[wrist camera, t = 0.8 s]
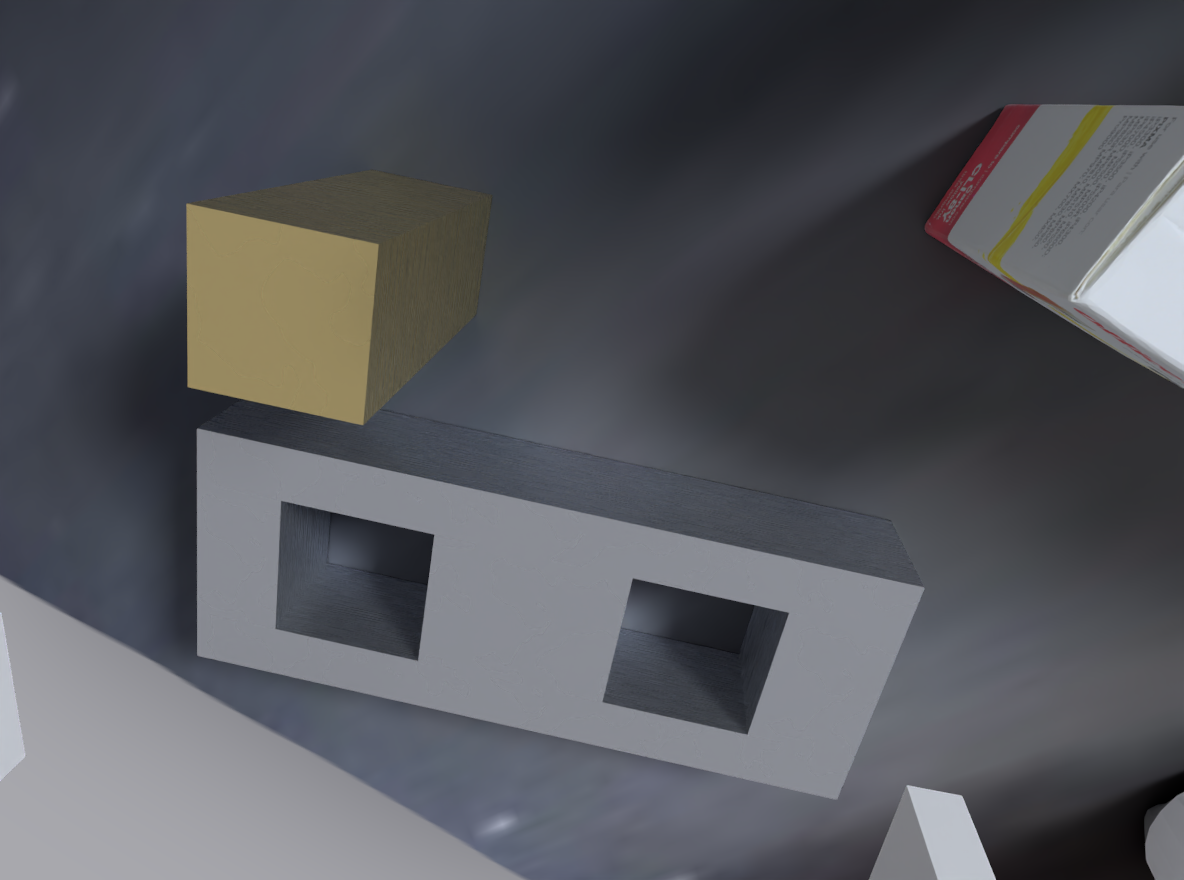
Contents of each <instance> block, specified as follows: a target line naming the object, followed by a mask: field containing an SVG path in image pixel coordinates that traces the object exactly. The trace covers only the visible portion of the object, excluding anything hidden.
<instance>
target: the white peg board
mask: <svg viewBox="0 0 1184 880" xmlns="http://www.w3.org/2000/svg"><path fill="white" fill-rule="evenodd" d="M331 512H334V513H339V514H343V515H348V516H352V517H357V518H361V519H366V520H370V521H375V522H379V523H384V524H389V525H393V526H398V527H402V528H407V529H411V530H416V531H420V532H425V533H429V534H434V542H433V550H432V557H431V565H430V573H429V580H428V585H424V584H420V583H415V582H411V581H406V580H401V579H397V578H392V577H388V576H383V575H379V574H374V573H370V572H365V571H361V570H356V569H352V568H347V567H343V566H338V565H334V564H329V563H327V561H328V547H329V533H330V519H331ZM633 578H634V579H638V580H643V581H647V582H652V583H656V584H661V585H665V586H670V587H674V588H679V589H684V590H688V591H693V592H697V593H702V594H706V595H711V596H715V597H720V598H724V599H729V600H733V601H738V602H743V603H747V604H752V605H755V606H754V609H753V612H752V615H751V618H750V621H749V625H748V628H747V631H746V634H745V637H744V640H743V643H742V646H741V649H740V653H739V654H735V653H731V652H726V651H722V650H717V649H713V648H708V647H704V646H699V645H695V644H690V643H685V642H681V641H676V640H672V639H667V638H663V637H658V636H654V635H649V634H645V633H640V632H636V631H631V630H627V629H622V628H621V624H622V620H623V616H624V612H625V608H626V604H627V600H628V596H629V592H630V588H631V584H632V579H633ZM924 589H925V587H924V585H923V583H922V581H921V579H920V577H919V575H918V573H917V571H916V569H915V567H914V565H913V563H912V562H911V560H910V558H909V556H908V554H907V552H906V550H905V548H904V546H903V544H902V542H901V540H900V538H899V536H898V534H897V532H896V530H895V528H894V526H893V524H892V523H891V521H890V520H886V519H882V518H877V517H873V516H868V515H863V514H859V513H854V512H850V511H845V510H840V509H836V508H831V507H827V506H822V505H817V504H813V503H808V502H803V501H799V500H794V499H790V498H785V497H780V496H776V495H771V494H767V493H762V492H757V491H753V490H748V489H744V488H739V487H734V486H730V485H725V484H721V483H716V482H711V481H707V480H702V479H698V478H693V477H688V476H684V475H679V474H675V473H670V472H665V471H661V470H656V469H652V468H647V467H642V466H638V465H633V464H628V463H624V462H619V461H615V460H610V459H605V458H601V457H596V456H592V455H587V454H582V453H578V452H573V451H569V450H564V449H559V448H555V447H550V446H546V445H541V444H536V443H532V442H527V441H523V440H518V439H513V438H509V437H504V436H500V435H495V434H490V433H486V432H481V431H476V430H472V429H467V428H463V427H458V426H453V425H449V424H444V423H440V422H435V421H430V420H426V419H421V418H417V417H412V416H407V415H403V414H398V413H394V412H389V411H384V410H380V409H379V410H378V411H377V412H376V413H375V414H374V415H373V416H372V417H371V418H370V419H369V420H368V421H367V422H366V423H365V424H364V425H359V424H355V423H350V422H346V421H341V420H336V419H332V418H327V417H323V416H318V415H313V414H309V413H304V412H300V411H295V410H290V409H286V408H281V407H277V406H272V405H267V404H263V403H258V402H254V401H249V400H244V399H241V400H240V401H238V402H237V403H235V404H234V405H232V406H230V407H229V408H227V409H226V410H224V411H223V412H221V413H220V414H218V415H217V416H215V417H214V418H212V419H211V420H209V421H207V422H206V423H204V424H203V425H201V426H200V427H198V428H197V656H201V657H205V658H210V659H214V660H219V661H223V662H228V663H232V664H236V665H241V666H245V667H250V668H254V669H259V670H263V671H268V672H272V673H276V674H281V675H285V676H290V677H294V678H299V679H303V680H307V681H312V682H316V683H321V684H325V685H330V686H334V687H339V688H343V689H347V690H352V691H356V692H361V693H365V694H370V695H374V696H378V697H383V698H387V699H392V700H396V701H401V702H405V703H410V704H414V705H418V706H423V707H427V708H432V709H436V710H441V711H445V712H449V713H454V714H458V715H463V716H467V717H472V718H476V719H481V720H485V721H489V722H494V723H498V724H503V725H507V726H512V727H516V728H520V729H525V730H529V731H534V732H538V733H543V734H547V735H552V736H556V737H560V738H565V739H569V740H574V741H578V742H583V743H587V744H592V745H596V746H600V747H605V748H609V749H614V750H618V751H623V752H627V753H631V754H636V755H640V756H645V757H649V758H654V759H658V760H663V761H667V762H671V763H676V764H680V765H685V766H689V767H694V768H698V769H702V770H707V771H711V772H716V773H720V774H725V775H729V776H734V777H738V778H742V779H747V780H751V781H756V782H760V783H765V784H769V785H773V786H778V787H782V788H787V789H791V790H796V791H800V792H805V793H809V794H813V795H818V796H822V797H827V798H831V799H836V800H837V798H838V796H839V794H840V791H841V789H842V786H843V784H844V781H845V779H846V777H847V774H848V772H849V769H850V767H851V765H852V762H853V760H854V757H855V755H856V753H857V750H858V748H859V745H860V743H861V740H862V738H863V736H864V733H865V731H866V728H867V726H868V724H869V721H870V719H871V716H872V714H873V712H874V709H875V707H876V704H877V702H878V700H879V697H880V695H881V692H882V690H883V687H884V685H885V683H886V680H887V678H888V675H889V673H890V671H891V668H892V666H893V663H894V661H895V659H896V656H897V654H898V651H899V649H900V646H901V644H902V642H903V639H904V637H905V634H906V632H907V630H908V627H909V625H910V622H911V620H912V618H913V615H914V613H915V610H916V608H917V605H918V603H919V601H920V598H921V596H922V593H923V591H924Z"/></svg>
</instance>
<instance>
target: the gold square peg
mask: <svg viewBox="0 0 1184 880" xmlns="http://www.w3.org/2000/svg"><path fill="white" fill-rule="evenodd" d="M491 202H492V195H490V194H485V193H480V192H475V191H471V190H466V189H461V188H456V187H452V186H447V185H442V184H437V183H433V182H428V181H423V180H418V179H414V178H409V177H404V176H399V175H395V174H390V173H385V172H380V171H376V170H368V171H363V172H357V173H352V174H346V175H341V176H335V177H330V178H324V179H319V180H313V181H308V182H302V183H297V184H291V185H286V186H280V187H275V188H269V189H264V190H258V191H253V192H247V193H242V194H236V195H231V196H225V197H220V198H214V199H209V200H203V201H198V202H192V203H187V353H188V387H189V388H194V389H198V390H203V391H208V392H212V393H217V394H221V395H226V396H231V397H235V398H240V399H244V400H249V401H254V402H258V403H263V404H267V405H272V406H277V407H281V408H286V409H290V410H295V411H300V412H304V413H309V414H313V415H318V416H323V417H327V418H332V419H336V420H341V421H346V422H350V423H355V424H359V425H364V424H365V423H366V422H367V421H368V420H369V419H370V418H371V417H372V416H373V415H374V414H375V413H376V412H377V411H378V410H379V409H380V408H381V407H382V406H383V405H384V404H385V403H386V402H387V401H388V400H389V399H390V398H391V397H392V396H394V395H395V394H396V393H397V392H398V391H399V390H400V389H401V388H402V387H403V386H404V385H405V384H406V383H407V382H408V381H409V380H410V379H411V378H412V377H413V376H414V375H415V374H416V373H417V372H418V371H419V370H420V369H421V368H422V367H423V366H424V365H425V364H426V363H427V362H428V361H429V360H430V359H431V358H432V357H433V356H434V355H435V354H436V353H437V352H438V351H439V350H440V349H441V348H442V347H443V346H444V345H445V344H447V343H448V342H449V341H450V340H451V339H452V338H453V337H454V336H455V335H456V334H457V333H458V332H459V331H460V330H461V329H462V328H463V327H464V326H465V325H466V324H467V323H468V322H469V321H470V320H471V319H472V318H473V317H474V316H475V315H476V312H477V304H478V297H479V290H480V283H481V275H482V268H483V261H484V253H485V246H486V239H487V231H488V224H489V217H490V209H491Z"/></svg>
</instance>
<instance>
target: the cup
mask: <svg viewBox="0 0 1184 880" xmlns="http://www.w3.org/2000/svg"><path fill="white" fill-rule="evenodd" d="M1144 832H1145V852H1146V862H1147V864H1148V866H1149V868H1150V870H1151V872H1152V874H1153V876H1154V878H1155V880H1184V791H1183V792H1182V793H1181V794H1179V795H1177V796H1176V797H1175V798H1174V799H1172V800H1170V801H1169V802H1167V803H1165V804H1158V805H1156V806H1154V807H1152V808H1150V809H1148V810H1147V812H1146V815H1145V817H1144Z"/></svg>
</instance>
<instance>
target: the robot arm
mask: <svg viewBox="0 0 1184 880" xmlns="http://www.w3.org/2000/svg"><path fill="white" fill-rule="evenodd" d="M25 756H26V755H25V749H24V743H23V737H22V731H21V725H20V720H19V713H18V707H17V702H16V696H15V690H14V684H13V678H12V672H11V666H10V660H9V654H8V648H7V642H6V636H5V630H4V624H3V618H2V612H0V781H1V780H2V779H3V778H4V777H5V776H6V775H7V774H8V773H9V772H10V771H11V770H12V769H13V768H14V767H15V766H16V765H17V764H18V763H19V762H20V761H21V760H22V759H24V757H25ZM869 880H996V878H995V876H994V873H993V871H992V868H991V866H990V864H989V861H988V859H987V856H986V854H985V851H984V849H983V846H982V844H981V841H980V839H979V836H978V834H977V831H976V829H975V826H974V824H973V822H972V819H971V817H970V814H969V812H968V809H967V807H966V804H965V802H964V799H963V797H962V796H960V795H955V794H950V793H945V792H940V791H934V790H929V789H924V788H919V787H913V786H908V785H907V786H906V788H905V791H904V793H903V796H902V798H901V801H900V803H899V806H898V808H897V811H896V813H895V816H894V818H893V821H892V823H891V826H890V828H889V831H888V833H887V836H886V838H885V841H884V843H883V846H882V848H881V851H880V853H879V856H878V858H877V861H876V863H875V866H874V868H873V871H872V873H871V876H870V878H869Z"/></svg>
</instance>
